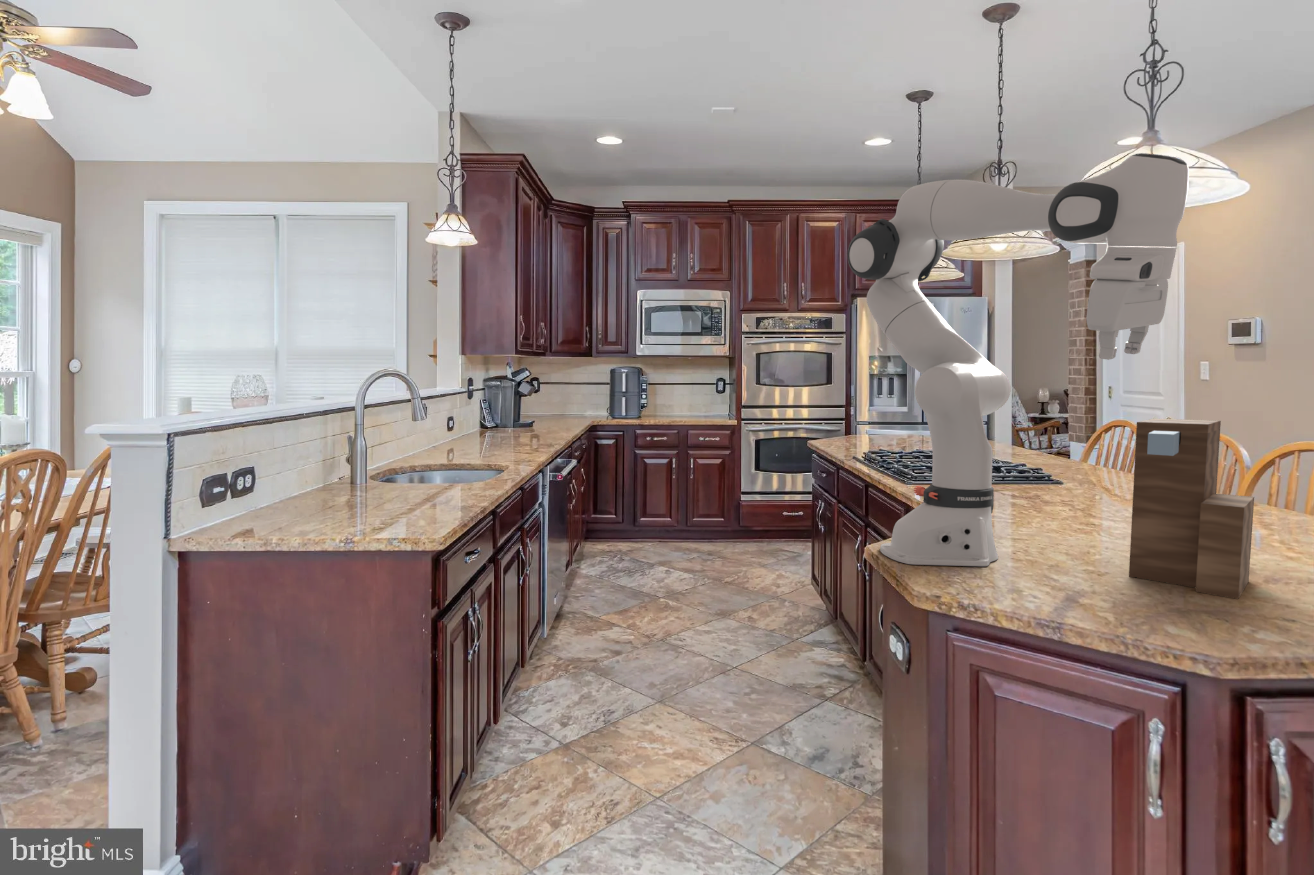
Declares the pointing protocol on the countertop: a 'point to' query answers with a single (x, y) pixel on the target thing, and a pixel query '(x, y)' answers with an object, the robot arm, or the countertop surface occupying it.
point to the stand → (1188, 514)
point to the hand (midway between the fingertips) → (1119, 356)
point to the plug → (1163, 442)
